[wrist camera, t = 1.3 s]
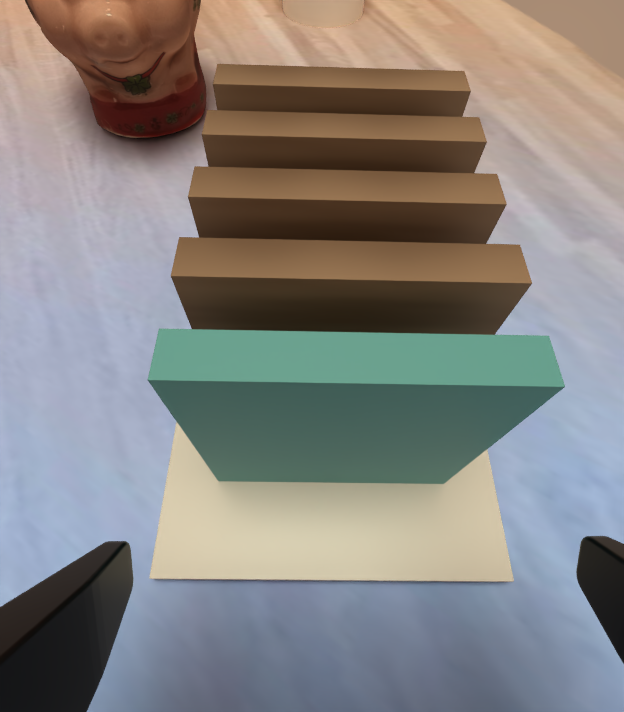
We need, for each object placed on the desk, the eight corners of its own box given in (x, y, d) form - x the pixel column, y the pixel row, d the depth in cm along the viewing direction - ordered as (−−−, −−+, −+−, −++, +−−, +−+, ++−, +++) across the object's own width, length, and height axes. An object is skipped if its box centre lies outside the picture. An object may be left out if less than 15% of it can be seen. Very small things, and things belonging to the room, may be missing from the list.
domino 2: (418, 309, 26) (486, 141, 17) (238, 305, 26) (201, 134, 16) (415, 288, 27) (479, 117, 17) (240, 285, 27) (207, 110, 17)
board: (506, 582, 20) (513, 581, 19) (154, 579, 19) (149, 578, 19) (434, 213, 31) (437, 205, 31) (216, 208, 31) (215, 200, 30)
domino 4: (443, 483, 21) (564, 386, 11) (218, 481, 21) (147, 380, 11) (439, 451, 22) (548, 335, 12) (222, 449, 21) (159, 328, 12)
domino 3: (434, 416, 23) (532, 283, 13) (226, 413, 22) (170, 276, 13) (430, 389, 23) (519, 244, 14) (228, 386, 23) (179, 237, 14)
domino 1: (412, 265, 28) (470, 91, 18) (243, 262, 28) (212, 83, 18) (409, 247, 29) (464, 71, 19) (245, 243, 28) (217, 64, 19)
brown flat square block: (425, 359, 24) (506, 204, 15) (232, 356, 24) (188, 196, 15) (422, 335, 25) (496, 174, 16) (235, 332, 25) (194, 166, 15)
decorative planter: (66, 54, 41) (-30, -172, 29) (191, 35, 44) (150, -181, 32) (90, 185, 32) (-36, -65, 20) (246, 152, 34) (218, -89, 22)
